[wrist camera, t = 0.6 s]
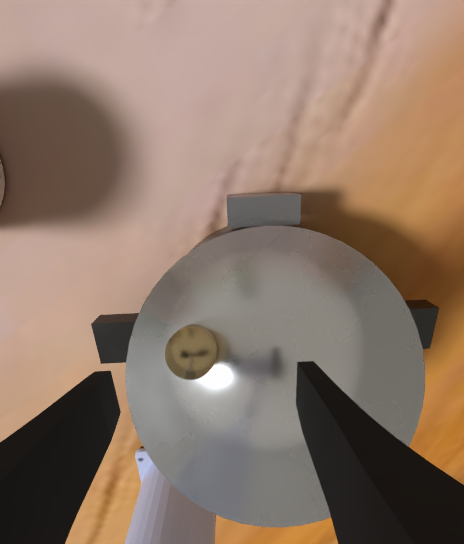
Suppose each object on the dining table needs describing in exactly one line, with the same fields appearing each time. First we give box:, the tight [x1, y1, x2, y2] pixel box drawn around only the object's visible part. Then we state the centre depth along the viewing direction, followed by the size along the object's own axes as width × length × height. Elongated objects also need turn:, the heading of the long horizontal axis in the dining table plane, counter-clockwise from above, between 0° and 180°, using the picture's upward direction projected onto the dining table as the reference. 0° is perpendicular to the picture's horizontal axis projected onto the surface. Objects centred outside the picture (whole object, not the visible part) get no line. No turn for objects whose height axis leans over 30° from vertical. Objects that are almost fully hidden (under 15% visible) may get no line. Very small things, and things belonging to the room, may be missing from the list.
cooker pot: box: [91, 192, 439, 363], centre depth 18 cm, size 16×22×4 cm
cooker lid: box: [126, 226, 425, 527], centre depth 13 cm, size 15×15×2 cm
